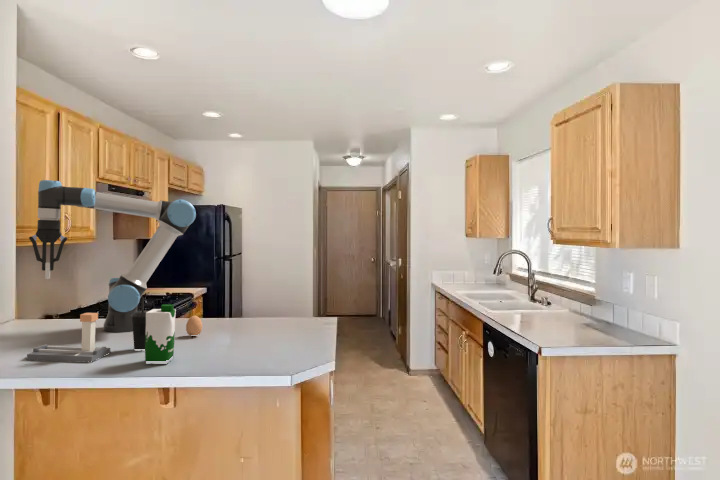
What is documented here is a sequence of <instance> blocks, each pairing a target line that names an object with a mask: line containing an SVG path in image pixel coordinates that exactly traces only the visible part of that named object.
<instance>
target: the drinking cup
mask: <svg viewBox="0 0 720 480" xmlns="http://www.w3.org/2000/svg"><path fill="white" fill-rule="evenodd" d="M144 303H145V297H143V296H142V297H141V310H137V312H135V313H133V314H131V316H132V324H133V331H132V334H133V335H132V336H133V337H132V338H133V350H134V349H145V335H146V312H148V311H149V310H144V309H145V308H144V307H145V305H144Z"/></svg>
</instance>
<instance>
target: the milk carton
mask: <svg viewBox="0 0 720 480" xmlns="http://www.w3.org/2000/svg"><path fill="white" fill-rule="evenodd" d="M160 307H161V308H152V309H151V310H147V311H148V312H146V335H145V351H144V359H145V361H166V360H169V359H170V358H171V357H172V356H173V357H174V351H175V329H176V315H177V313H176V312H177V309H175V308H174V304H170V303H165V304H161V305H160ZM145 361H144V362H145Z"/></svg>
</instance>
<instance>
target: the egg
mask: <svg viewBox="0 0 720 480" xmlns="http://www.w3.org/2000/svg"><path fill="white" fill-rule="evenodd" d="M185 330H186V333H187V335H189V336H190V335H198V334H199V335H200V334H201V333H202V330H203V322H202V320H201V318H200V317H199V316H197V315H191V316H190V317H189V319H188V320H187V322H186V324H185ZM199 335H198V336H199Z"/></svg>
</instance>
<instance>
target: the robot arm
mask: <svg viewBox="0 0 720 480" xmlns="http://www.w3.org/2000/svg"><path fill="white" fill-rule="evenodd" d="M37 195H38V196H37V201H38V202H37V204H38V205H37V218H38V220H37V228H36V229H37V230H36V232H35V234H33V235H32V236H29V237H28V239H29V241H30V242H31V244H32V248H33V251H34V255H35V258H36V262H37V261H38V262H41V270H42V271H44V273H45V275H44V280H50V279H51V271H54V268H55V267H54V266H55V262H58V261H59V260H60V258H61V255H62V252H63V249H64V246H65V243H66V241H68V237H67V236H64V235H62V232H61V221H60V219H61V215H62V213H61V209H62V206H71V207H77V208H86V209H93V210H100V211H106V212H112V213H119V214H126V215H132V216H137V217H138V216H139V217H144V218H145V217H146V218H151V219H155V220H156V221H157V222H158V223H159V226H158V227H157V229H156V231H154V233H153V235H152V236H151V238H150V239H149V241H148V242H147V244H146V246H145V247H144V248H143V249H142V251H141V253H140V254H139V255H138V257H137V258H136V260H135V261H134V262H133V264H132V266H131V267H130V268H129V270H128V271H127V272H126V273H122V274H121V275H120V276H119V277H114V278H113V277H112V278H110V279H109V282H108V295H107V301H108V309H107V310H108V313H107V316H106V318H105V319H104V323H103V331H104V332H110V333H122V332H123V333H125V332H133V324H132V316H131V314H133V313H135V312H138V305H139V303H140V301H141V299H142V297H143V295H144V294H145V292H146V290H147V289H148V287H147V282H148V281H149V279H150V278H151V276H152V275H153V273H154V272H155V270H156V269H157V268H158V267H159V264H160V262H161V263H162V260H163V259H164V257H165V256H166V254H167V253H168V251H169V249H171V247H172V245H173V244H174V242H175V240H177V237H179V236H183V235H184V233H186V231H187V229H188V228H189V227H190V225H191V224H193V223H194V221H195V220H196V217H197V213H196V212H197V211H196V208H195V207H194V205H193V204H192V203H191V202H190V201H187V200H186V199H176V200H173V201H171V200H170V201H167V200H159V201H154V200H147V199H142V198H135V197H129V196H123V195H117V194H111V193H107V192H106V193H105V192H99V191H96V189H94V188H89V187H75V186H73V187H71V186H63V185H62V182H61V181H59V180H50V179H42V180H40V181H39V183H38V191H37ZM37 239H39V240H40V242H41V244H42V249H41V250H42V255H40V250H39V247H38V243H37V241H38V240H37ZM58 240H60V243H59V246H58V250H57V252H56V257H55V244H56V242H57V241H58ZM48 243H49V244H50V245H49V262H47V251H48V250H47V247H48Z"/></svg>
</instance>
